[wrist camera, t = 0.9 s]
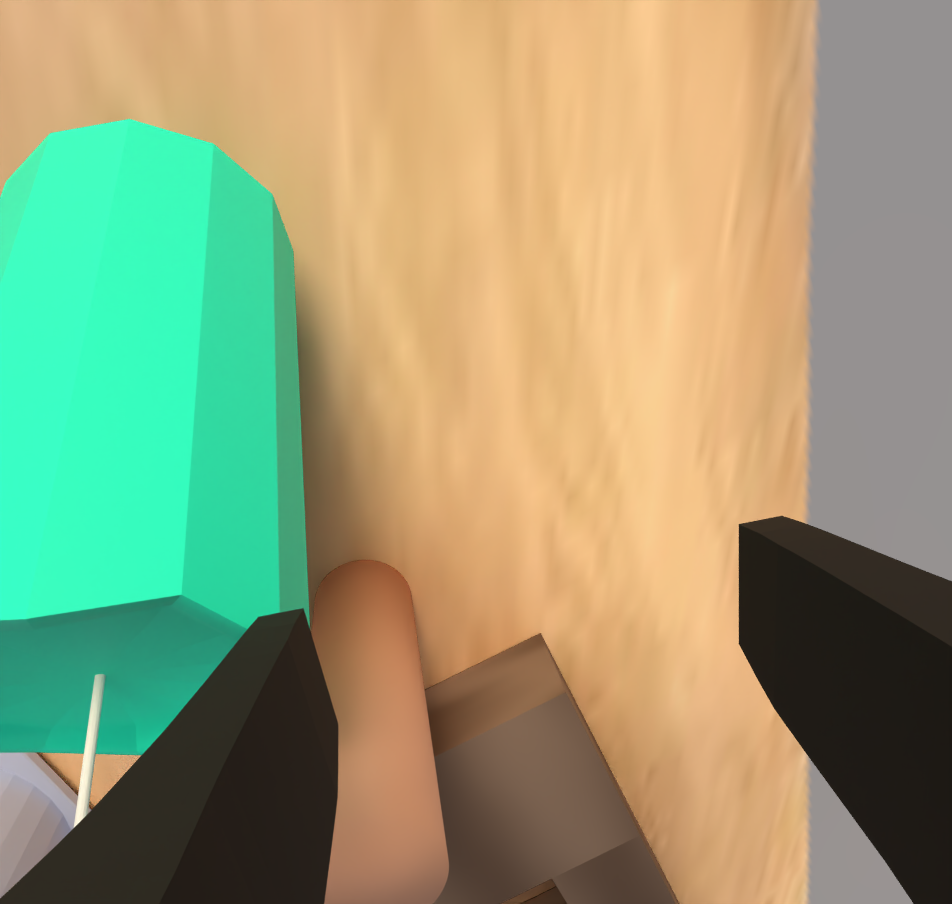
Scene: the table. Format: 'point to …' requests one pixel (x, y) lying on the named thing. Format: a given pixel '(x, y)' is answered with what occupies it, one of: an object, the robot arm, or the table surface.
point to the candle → (139, 434)
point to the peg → (379, 741)
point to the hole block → (531, 791)
